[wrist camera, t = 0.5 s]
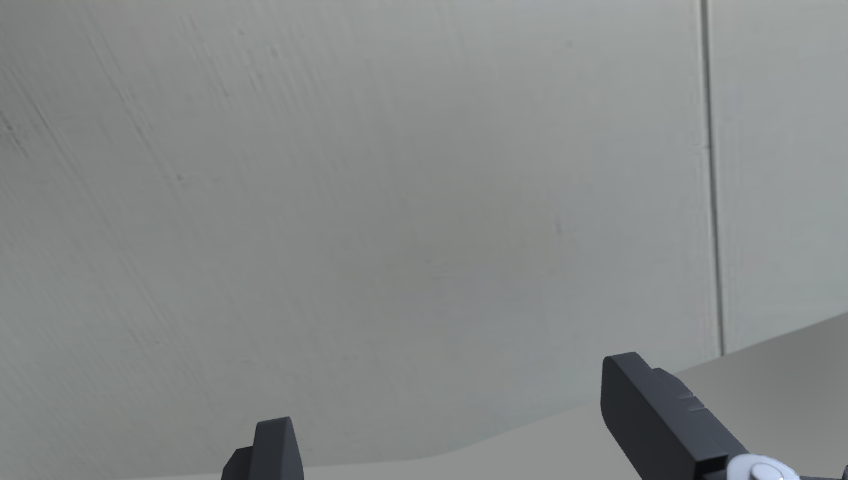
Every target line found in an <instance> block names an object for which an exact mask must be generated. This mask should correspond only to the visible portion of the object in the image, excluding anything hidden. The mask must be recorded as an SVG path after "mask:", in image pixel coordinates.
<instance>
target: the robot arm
mask: <svg viewBox="0 0 848 480" xmlns="http://www.w3.org/2000/svg"><path fill="white" fill-rule="evenodd" d="M600 404H601V411H602V416H603V419H604V421H605V424H606V426H607V428H608V429H609V431H610V432H611V434H612V435H613V437H614V438H615V440H616V441H617V443H618V444H619V446H620V447H621V449H622V450H623V451H624V453H625V454H626V456H627V458H628V459H629V461H630V462H631V463H632V465H633V466H634V468H635V469H636V471H637V472H638V474H639V475H640V477H641V478H642V480H848V465H847V466H846V468H845V470H844V473H843V476H842V479H833V478H819V477H806V476H798V475H797V473H796V472H795V471H793V470H792V469H791V468H790V467H788V466H787V465H785V464H784V463H782V462H780V461H778V460H776V459H773V458H771V457H768V456H764V455H760V454H751V453H749V452H748V451H747V450H746V449H745V448H744V446H743V445H742V444H741V443H740V442H739V441H738V440H737V439H736V438H735V437H734V436H733V435H732V434H731V433H730V432H729V431H728V430H727V429H726V428H725V427H724V426H723V425H722V424H721V422H719V420H718V419H717V418H716V417H715V416H714V415H713V414H712V413H711V412H710V411H709V410H708V409H707V408H706V409H705V407H704V405H703V404H702V403H701V402H700V401H699V399H698V398H697V397H696V396H693V393H692V392H691V391H690V390H689V389H688V388H687V387H686V386H685V385H684V384H683V383H682V382H681V381H680V380H679V379H678V378H676V377H674V376H673V375H671V374H669V373H668V372H666V371H664V370H662V369H661V368H655V369H651V368H650V367H649V366H648V364H647V363H646V362H645V361H644V360H643V359H642V358H641V357H640V356H639V355H638V354H637V353H636V352H629V353H623V354H618V355H613V356H607V357H605V358H604V360H603V368H602V385H601V403H600ZM221 480H304V473H303V466H302V461H301V457H300V453H299V449H298V445H297V441H296V437H295V433H294V429H293V425H292V421H291V419H290V417H289V416H288V417H283V418H278V419H272V420H267V421H261V422H258V423H257V425H256V431H255V437H254V443H253V446H250V447H245V448H240V449H236V451H235V452H234V454H233V455H232V457H231V458H230V459H229V461H228V462H227V464H226V465H225V467H224V469H223V473H222V477H221Z"/></svg>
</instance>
